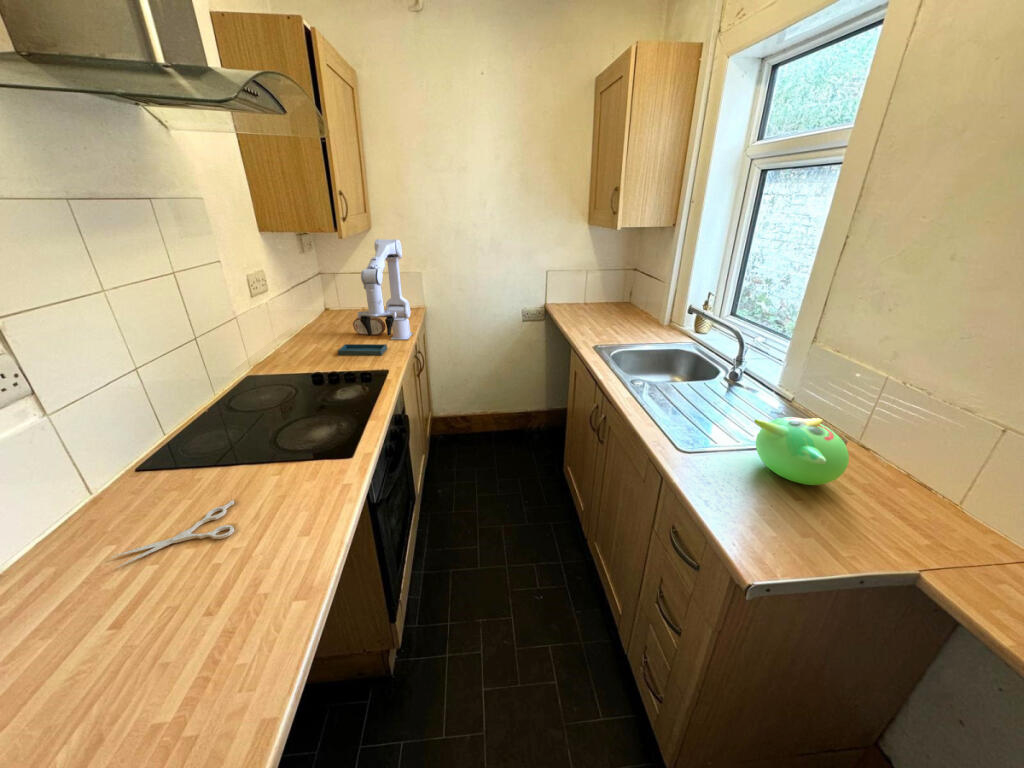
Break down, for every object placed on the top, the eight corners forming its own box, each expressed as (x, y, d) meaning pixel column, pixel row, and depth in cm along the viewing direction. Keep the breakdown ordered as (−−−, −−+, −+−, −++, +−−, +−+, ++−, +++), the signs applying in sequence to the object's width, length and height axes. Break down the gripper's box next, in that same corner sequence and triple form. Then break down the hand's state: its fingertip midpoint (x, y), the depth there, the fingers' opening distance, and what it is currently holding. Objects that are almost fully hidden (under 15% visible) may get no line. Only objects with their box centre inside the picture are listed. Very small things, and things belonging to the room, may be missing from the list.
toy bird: (851, 484, 95) (874, 429, 89) (811, 510, 88) (833, 451, 82) (773, 447, 109) (788, 397, 103) (733, 465, 102) (747, 413, 96)
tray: (346, 348, 180) (345, 344, 179) (387, 348, 179) (386, 344, 178) (338, 355, 172) (337, 350, 171) (381, 355, 172) (380, 351, 171)
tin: (386, 334, 198) (384, 316, 195) (384, 336, 195) (382, 318, 192) (356, 333, 200) (353, 315, 196) (353, 335, 197) (350, 317, 193)
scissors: (243, 527, 82) (107, 582, 70) (244, 530, 82) (109, 585, 71) (233, 499, 89) (109, 545, 78) (234, 502, 90) (110, 548, 78)
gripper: (352, 303, 155) (358, 338, 161) (391, 303, 155) (395, 338, 160) (359, 299, 161) (364, 332, 167) (396, 299, 161) (400, 332, 167)
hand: (379, 335), depth 164 cm, fingers open, 7 cm apart
